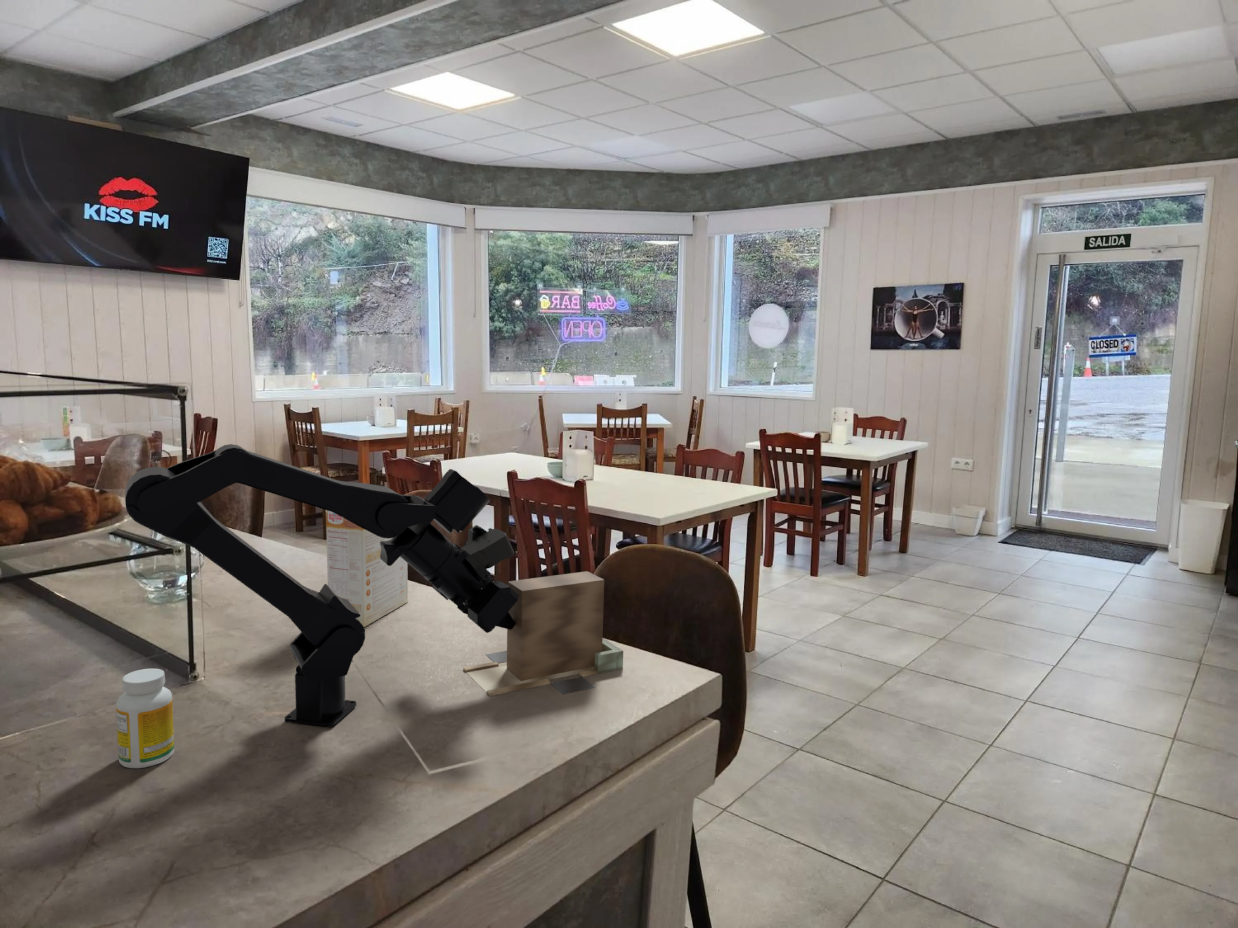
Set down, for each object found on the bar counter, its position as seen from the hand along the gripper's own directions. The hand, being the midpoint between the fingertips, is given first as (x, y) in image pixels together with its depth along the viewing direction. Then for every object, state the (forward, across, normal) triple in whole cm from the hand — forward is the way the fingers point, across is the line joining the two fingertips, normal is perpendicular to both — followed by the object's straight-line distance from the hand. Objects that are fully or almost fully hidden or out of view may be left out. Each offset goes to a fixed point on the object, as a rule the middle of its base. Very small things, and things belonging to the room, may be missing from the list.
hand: (512, 626), depth 114 cm
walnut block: (+10, 0, 0) cm, 10 cm away
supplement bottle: (-26, -2, +37) cm, 46 cm away
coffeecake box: (-2, +37, +13) cm, 39 cm away
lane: (+8, 0, +2) cm, 9 cm away
